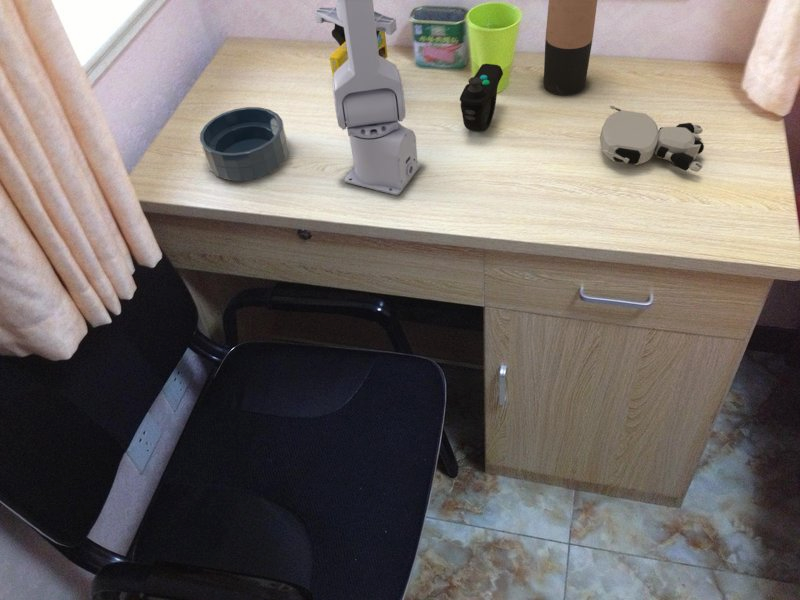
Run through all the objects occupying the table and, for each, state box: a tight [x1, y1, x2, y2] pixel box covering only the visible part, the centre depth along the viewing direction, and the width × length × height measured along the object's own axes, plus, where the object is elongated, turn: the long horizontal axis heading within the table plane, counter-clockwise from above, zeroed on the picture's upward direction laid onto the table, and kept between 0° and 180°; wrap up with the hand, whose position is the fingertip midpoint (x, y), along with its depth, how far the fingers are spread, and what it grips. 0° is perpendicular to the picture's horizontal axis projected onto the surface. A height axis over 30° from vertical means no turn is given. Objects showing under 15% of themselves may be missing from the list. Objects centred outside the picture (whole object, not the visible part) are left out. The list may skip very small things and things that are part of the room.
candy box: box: [329, 31, 388, 78], centre depth 120 cm, size 16×2×8 cm, turn 153°
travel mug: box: [543, 0, 598, 96], centre depth 113 cm, size 8×8×20 cm
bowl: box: [199, 106, 290, 182], centre depth 111 cm, size 13×13×6 cm
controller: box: [459, 63, 504, 133], centre depth 111 cm, size 4×12×10 cm, turn 158°
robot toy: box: [599, 104, 705, 173], centre depth 104 cm, size 12×4×15 cm
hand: (361, 65), depth 121 cm, fingers closed on candy box, 2 cm apart
